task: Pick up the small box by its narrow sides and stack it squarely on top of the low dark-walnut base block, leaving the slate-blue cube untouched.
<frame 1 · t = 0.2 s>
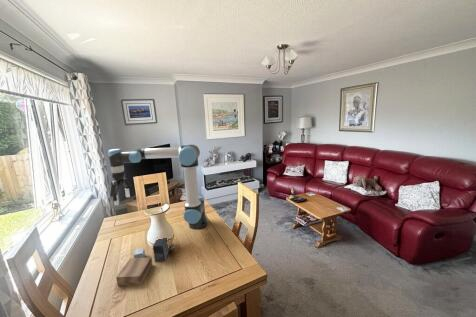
hand: (122, 200, 139), 28 cm above the table, fingers open, 13 cm apart
walnut base: (136, 274, 108), on the table
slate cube: (139, 258, 121), on the table
small box: (162, 255, 123), on the table
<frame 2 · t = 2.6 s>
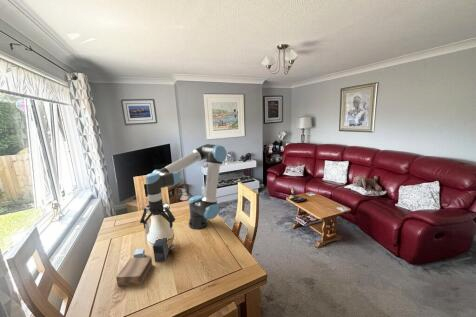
hand: (159, 232, 120), 16 cm above the table, fingers open, 13 cm apart
nothing on the table moved.
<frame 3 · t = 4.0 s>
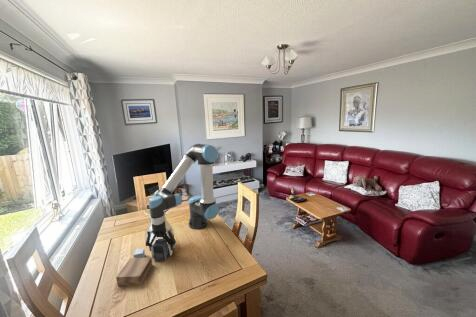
hand: (162, 254, 123), 0 cm above the table, fingers open, 10 cm apart
nothing on the table moved.
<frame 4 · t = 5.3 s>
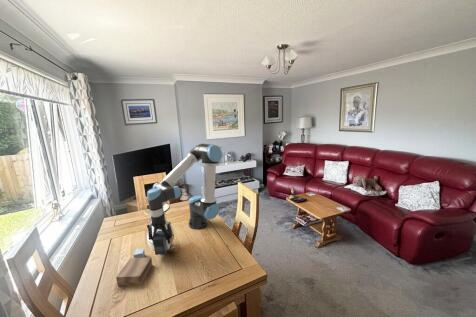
hand: (162, 248, 123), 5 cm above the table, fingers closed on small box, 6 cm apart
small box: (162, 249, 123), point 4 cm above the table, touching gripper
everything else where it was.
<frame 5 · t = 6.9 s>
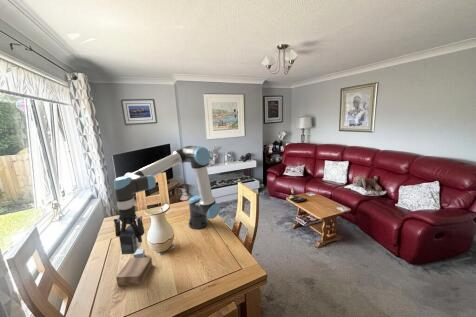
hand: (132, 247, 105), 16 cm above the table, fingers closed on small box, 6 cm apart
small box: (132, 248, 105), point 16 cm above the table, touching gripper
everything else where it was.
when the fingers open (6 cm above the table, at t = 8.5 s): small box stays where it is, resting on walnut base.
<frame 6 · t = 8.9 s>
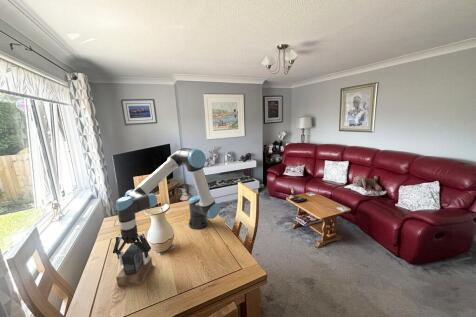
hand: (134, 263, 107), 7 cm above the table, fingers open, 12 cm apart
small box: (134, 266, 107), point 5 cm above the table, touching walnut base
everything else where it was.
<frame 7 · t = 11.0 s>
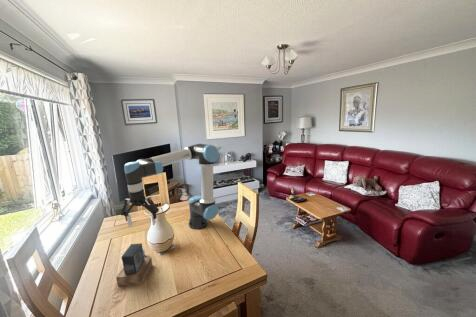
hand: (142, 224, 114), 24 cm above the table, fingers open, 13 cm apart
nothing on the table moved.
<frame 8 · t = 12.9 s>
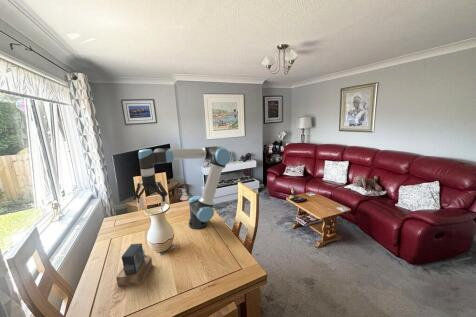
hand: (152, 207, 125), 29 cm above the table, fingers open, 13 cm apart
nothing on the table moved.
at the end: small box inside the target area on the walnut base (0.1 cm from its centre), point 4.8 cm above the walnut base's base; small box tilted 0°; small box touching walnut base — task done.
